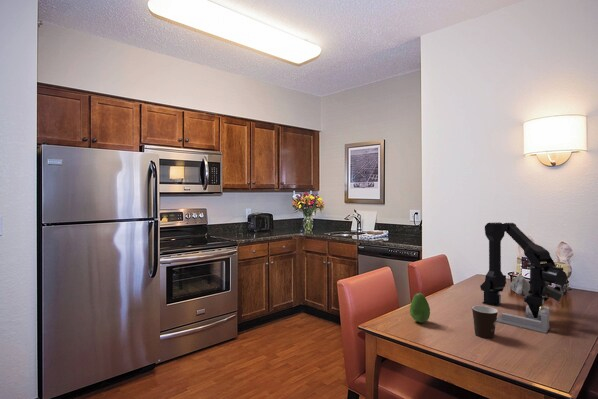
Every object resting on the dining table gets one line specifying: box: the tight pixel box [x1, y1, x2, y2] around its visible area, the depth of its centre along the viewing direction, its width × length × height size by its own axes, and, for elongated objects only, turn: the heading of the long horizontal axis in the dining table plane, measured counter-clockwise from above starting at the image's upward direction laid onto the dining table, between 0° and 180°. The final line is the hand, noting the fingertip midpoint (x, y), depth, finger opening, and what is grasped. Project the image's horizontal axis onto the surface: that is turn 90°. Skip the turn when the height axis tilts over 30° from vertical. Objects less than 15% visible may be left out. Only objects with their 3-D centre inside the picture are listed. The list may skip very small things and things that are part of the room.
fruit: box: [409, 292, 431, 324], centre depth 145 cm, size 8×8×12 cm
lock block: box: [525, 304, 550, 321], centre depth 146 cm, size 7×6×6 cm
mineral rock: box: [509, 274, 530, 296], centre depth 189 cm, size 13×11×10 cm
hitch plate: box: [496, 308, 551, 334], centre depth 143 cm, size 18×8×9 cm, turn 46°
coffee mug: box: [471, 305, 499, 340], centre depth 133 cm, size 12×9×10 cm
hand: (537, 315), depth 146 cm, fingers closed on lock block, 6 cm apart
